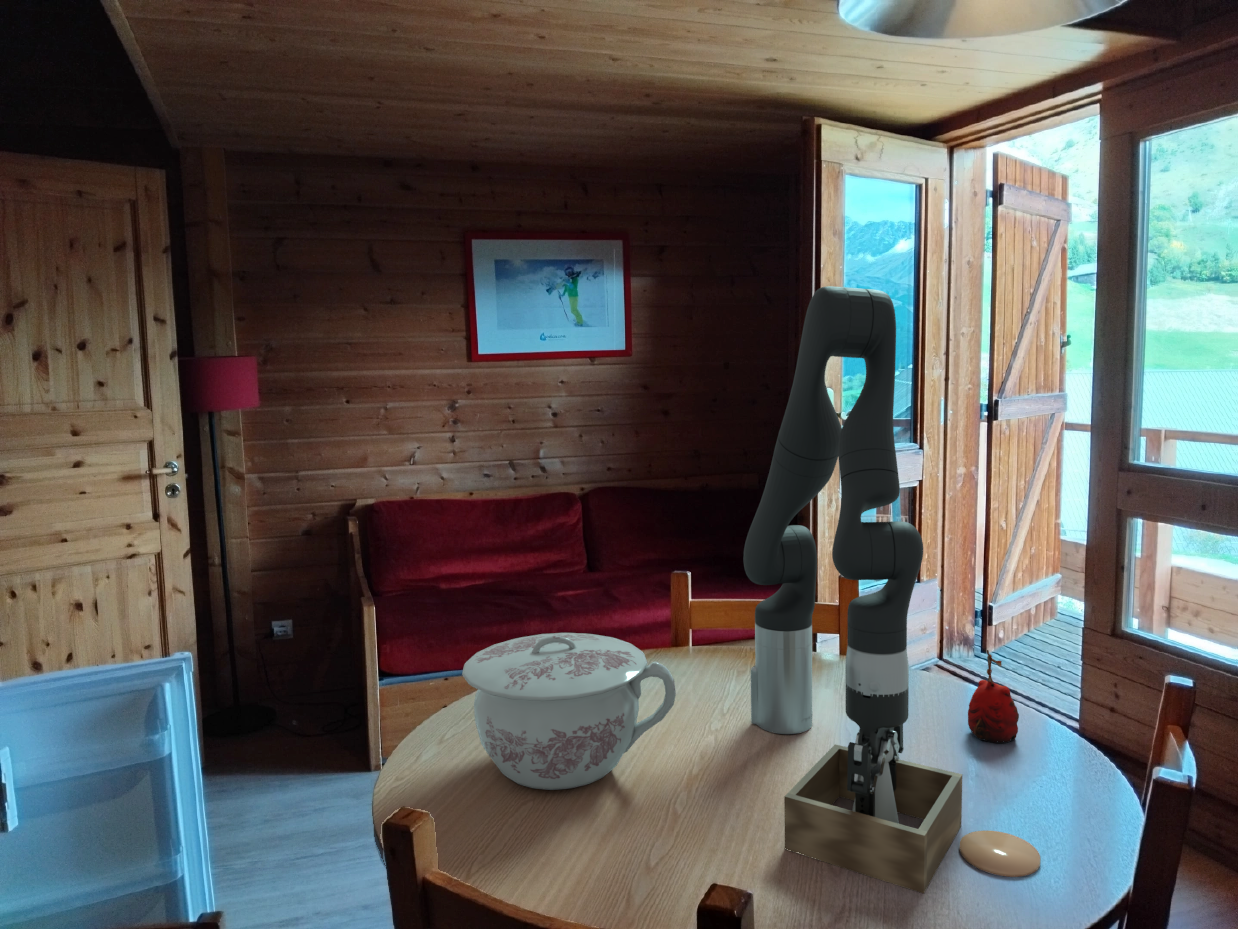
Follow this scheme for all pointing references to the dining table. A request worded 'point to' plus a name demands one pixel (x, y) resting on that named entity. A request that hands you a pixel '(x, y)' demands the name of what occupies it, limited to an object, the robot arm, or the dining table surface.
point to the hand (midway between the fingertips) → (876, 804)
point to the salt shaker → (885, 793)
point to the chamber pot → (561, 705)
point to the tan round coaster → (1000, 853)
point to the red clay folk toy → (993, 710)
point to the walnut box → (875, 822)
